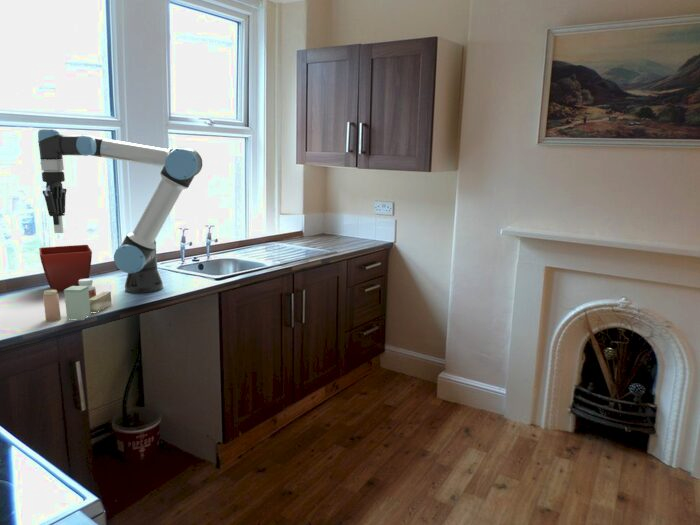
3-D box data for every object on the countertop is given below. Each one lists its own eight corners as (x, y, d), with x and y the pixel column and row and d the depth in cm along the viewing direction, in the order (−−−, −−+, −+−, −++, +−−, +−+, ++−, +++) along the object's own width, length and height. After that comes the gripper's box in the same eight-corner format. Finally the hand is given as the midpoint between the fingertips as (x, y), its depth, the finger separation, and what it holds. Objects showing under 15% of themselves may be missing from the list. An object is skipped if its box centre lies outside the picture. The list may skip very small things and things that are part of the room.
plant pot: (95, 290, 234) (92, 250, 231) (44, 295, 225) (39, 254, 221) (91, 281, 250) (87, 244, 247) (43, 285, 241) (38, 247, 238)
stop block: (88, 313, 200) (87, 299, 199) (103, 304, 212) (102, 291, 211) (97, 313, 200) (95, 299, 199) (111, 304, 212) (110, 291, 211)
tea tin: (66, 320, 192) (63, 289, 190) (75, 315, 198) (72, 285, 196) (83, 320, 192) (80, 290, 190) (91, 315, 198) (88, 286, 196)
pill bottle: (99, 309, 206) (96, 280, 203) (81, 312, 202) (78, 282, 200) (94, 305, 210) (92, 277, 208) (77, 308, 206) (74, 279, 204)
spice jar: (60, 316, 196) (57, 288, 194) (61, 320, 192) (58, 291, 190) (45, 318, 194) (42, 290, 192) (45, 322, 190) (42, 293, 188)
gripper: (52, 170, 217) (58, 230, 221) (33, 171, 204) (40, 235, 209) (71, 170, 217) (77, 230, 221) (53, 171, 204) (59, 235, 208)
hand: (59, 232), depth 215 cm, fingers closed
